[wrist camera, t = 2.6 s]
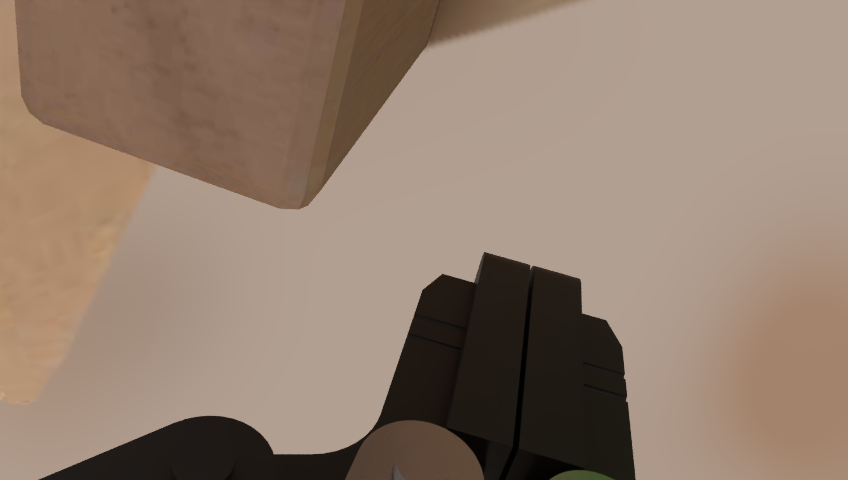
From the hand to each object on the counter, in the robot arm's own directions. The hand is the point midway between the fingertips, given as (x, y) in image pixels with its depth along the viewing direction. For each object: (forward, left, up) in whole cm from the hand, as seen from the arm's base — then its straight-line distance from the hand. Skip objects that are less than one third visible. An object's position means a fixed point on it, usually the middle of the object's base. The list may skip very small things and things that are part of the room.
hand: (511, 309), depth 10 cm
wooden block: (0, -10, -28) cm, 30 cm away
